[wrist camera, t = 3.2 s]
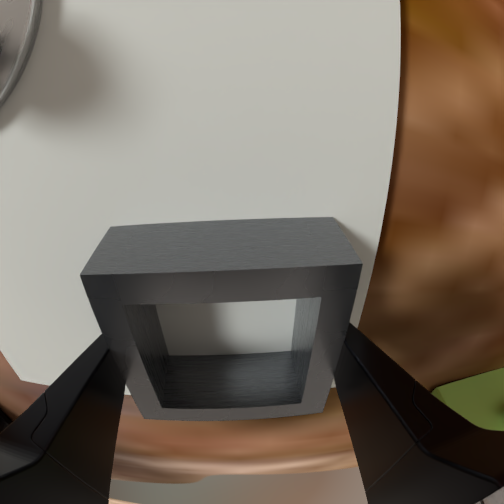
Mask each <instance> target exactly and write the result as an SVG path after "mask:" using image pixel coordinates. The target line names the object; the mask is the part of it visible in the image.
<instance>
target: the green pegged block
mask: <svg viewBox="0 0 504 504" xmlns="http://www.w3.org/2000/svg"><path fill="white" fill-rule="evenodd" d="M431 394H433V395H434V396H435V397H436V398H438V399H439V400H440V401H442V402H443V403H444V404H446V405H447V406H448V407H450V408H451V409H453V410H454V411H455V412H457V413H458V414H460V415H461V416H463V417H464V418H465V419H467V420H468V421H470V422H471V423H473V424H474V425H476V426H478V427H481V428H484V429H488V430H498V431H504V367H503V368H500V369H496V370H493V371H489V372H486V373H482V374H479V375H476V376H472V377H469V378H466V379H462V380H459V381H455V382H452V383H449V384H446V385H443V386H440V387H437V388H435V389H434V390H433V391H432V393H431Z"/></svg>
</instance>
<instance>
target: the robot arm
mask: <svg viewBox="0 0 504 504" xmlns="http://www.w3.org/2000/svg"><path fill="white" fill-rule="evenodd" d="M334 381H335V385H336V389H337V392H338V395H339V399H340V402H341V406H342V409H343V412H344V416H345V419H346V423H347V426H348V430H349V433H350V437H351V440H352V444H353V448H354V451H355V455H356V458H357V462H358V466H359V470H360V473H361V477H362V481H363V485H364V489H365V491H366V492H365V493H366V497H367V501H368V504H504V431H498V430H488V429H484V428H481V427H478V426H476V425H474V424H473V423H471V422H470V421H468V420H467V419H465V418H464V417H463V416H461V415H460V414H458V413H457V412H455V411H454V410H453V409H451V408H450V407H448V406H447V405H446V404H444V403H443V402H442V401H440V400H439V399H438V398H436V397H435V396H434V395H433V394H431V393H430V392H429V391H428V390H427V389H425V388H424V387H423V386H422V385H421V384H420V383H419V382H417V381H415V379H414V378H413V377H412V376H411V375H409V374H408V373H407V372H406V371H405V370H404V369H403V368H401V367H400V366H399V365H398V364H397V363H396V362H395V361H393V360H392V359H391V358H390V357H389V356H388V355H387V354H386V353H384V352H383V351H382V350H381V349H380V348H379V347H378V346H376V345H375V344H374V343H373V342H372V341H371V340H370V339H368V338H367V337H366V336H365V335H364V334H363V333H362V332H360V331H359V330H358V329H357V328H356V327H355V326H353V325H352V324H351V323H350V322H349V326H348V329H347V333H346V337H345V341H344V342H343V345H342V349H341V352H340V356H339V359H338V363H337V366H336V369H335V373H334ZM125 385H126V383H125V381H124V379H123V377H122V375H121V373H120V370H119V368H118V366H117V364H116V362H115V360H114V358H113V356H112V353H111V351H110V349H109V348H108V346H107V344H106V342H105V339H104V337H103V335H102V334H101V335H100V336H99V337H98V338H97V339H96V340H95V341H94V342H93V343H92V344H91V345H90V346H89V347H88V348H87V349H86V350H85V351H84V352H83V353H82V354H81V355H80V356H79V357H78V358H77V359H76V360H75V361H74V362H73V363H72V364H71V365H70V366H69V367H68V368H67V369H66V370H65V371H64V372H63V373H62V374H61V375H60V376H59V377H58V378H57V379H56V380H55V381H54V382H53V383H52V384H51V385H50V386H49V387H48V388H47V389H46V390H45V393H42V394H41V395H40V397H39V398H38V399H37V400H36V401H35V402H34V403H33V404H32V405H31V406H30V407H29V408H28V409H27V410H26V411H24V412H23V413H22V414H21V415H20V416H19V417H18V418H17V419H16V420H14V421H13V422H11V421H10V420H9V419H8V418H7V417H6V416H5V415H4V414H3V413H2V411H1V410H0V504H108V502H109V500H108V499H109V491H110V482H111V474H112V466H113V459H114V452H115V445H116V439H117V433H118V426H119V421H120V415H121V409H122V404H123V399H124V393H125Z"/></svg>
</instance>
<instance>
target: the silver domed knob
mask: <svg viewBox="0 0 504 504" xmlns="http://www.w3.org/2000/svg"><path fill="white" fill-rule="evenodd" d="M42 5H43V0H0V108H1V107H2V106H3V105H4V103H5V102H6V101H7V99H8V98H9V96H10V95H11V93H12V92H13V90H14V88H15V87H16V85H17V83H18V82H19V80H20V78H21V76H22V74H23V72H24V70H25V68H26V65H27V63H28V60H29V58H30V56H31V53H32V50H33V47H34V44H35V41H36V37H37V34H38V30H39V25H40V20H41V14H42Z"/></svg>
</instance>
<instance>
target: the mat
mask: <svg viewBox="0 0 504 504" xmlns="http://www.w3.org/2000/svg"><path fill="white" fill-rule="evenodd" d="M400 53H401V22H400V0H43V5H42V14H41V20H40V25H39V30H38V34H37V37H36V41H35V44H34V47H33V50H32V53H31V56H30V58H29V60H28V63H27V65H26V68H25V70H24V72H23V74H22V76H21V78H20V80H19V82H18V83H17V85H16V87H15V88H14V90H13V92H12V93H11V95H10V96H9V98H8V99H7V101H6V102H5V103H4V105H3V106H2V107H1V108H0V350H1V352H2V353H3V355H4V356H5V358H6V359H7V361H8V362H9V364H10V365H11V367H12V368H13V369H14V371H15V372H16V374H17V375H18V376H19V378H20V379H21V380H23V381H28V382H33V383H39V384H44V385H51V384H52V383H53V382H54V381H55V380H56V379H57V378H58V377H59V376H60V375H61V374H62V373H63V372H64V371H65V370H66V369H67V368H68V367H69V366H70V365H71V364H72V363H73V362H74V361H75V360H76V359H77V358H78V357H79V356H80V355H81V354H82V353H83V352H84V351H85V350H86V349H87V348H88V347H89V346H90V345H91V344H92V343H93V342H94V341H95V340H96V339H97V338H98V337H99V336H100V335H101V334H102V332H101V330H100V327H99V325H98V323H97V320H96V318H95V315H94V313H93V310H92V308H91V305H90V302H89V300H88V297H87V294H86V292H85V289H84V286H83V283H82V280H81V278H80V273H81V272H82V270H83V268H84V267H85V265H86V264H87V262H88V260H89V259H90V257H91V256H92V254H93V252H94V251H95V249H96V248H97V246H98V245H99V243H100V241H101V240H102V238H103V237H104V235H105V234H106V232H107V231H108V229H109V228H110V227H111V226H125V225H140V224H157V223H174V222H194V221H215V220H239V219H267V218H304V217H333V218H334V219H335V221H336V222H337V224H338V225H339V227H340V228H341V230H342V231H343V233H344V234H345V236H346V238H347V239H348V241H349V242H350V244H351V245H352V247H353V249H354V250H355V252H356V253H357V255H358V256H359V258H360V260H361V261H362V263H363V266H362V271H361V275H360V280H359V284H358V289H357V293H356V297H355V302H354V306H353V310H352V314H351V318H350V323H351V324H352V325H353V326H355V327H356V328H358V325H359V321H360V317H361V314H362V310H363V306H364V303H365V299H366V295H367V291H368V287H369V283H370V279H371V275H372V270H373V266H374V262H375V257H376V252H377V248H378V243H379V238H380V233H381V228H382V223H383V217H384V212H385V206H386V200H387V194H388V188H389V181H390V174H391V167H392V160H393V152H394V143H395V134H396V124H397V112H398V99H399V82H400ZM155 305H156V309H157V313H158V317H159V321H160V325H161V328H162V332H163V336H164V339H165V343H166V346H167V350H168V353H169V355H229V354H251V353H268V352H282V351H291V345H292V336H293V327H294V318H295V308H296V299H286V300H269V301H249V302H226V303H196V304H155ZM333 387H336V385H335V381H334V378H333V382H332V385H331V388H333ZM124 394H126V395H131V394H130V392H129V390H128V388H127V386H126V385H125V393H124Z"/></svg>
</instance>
